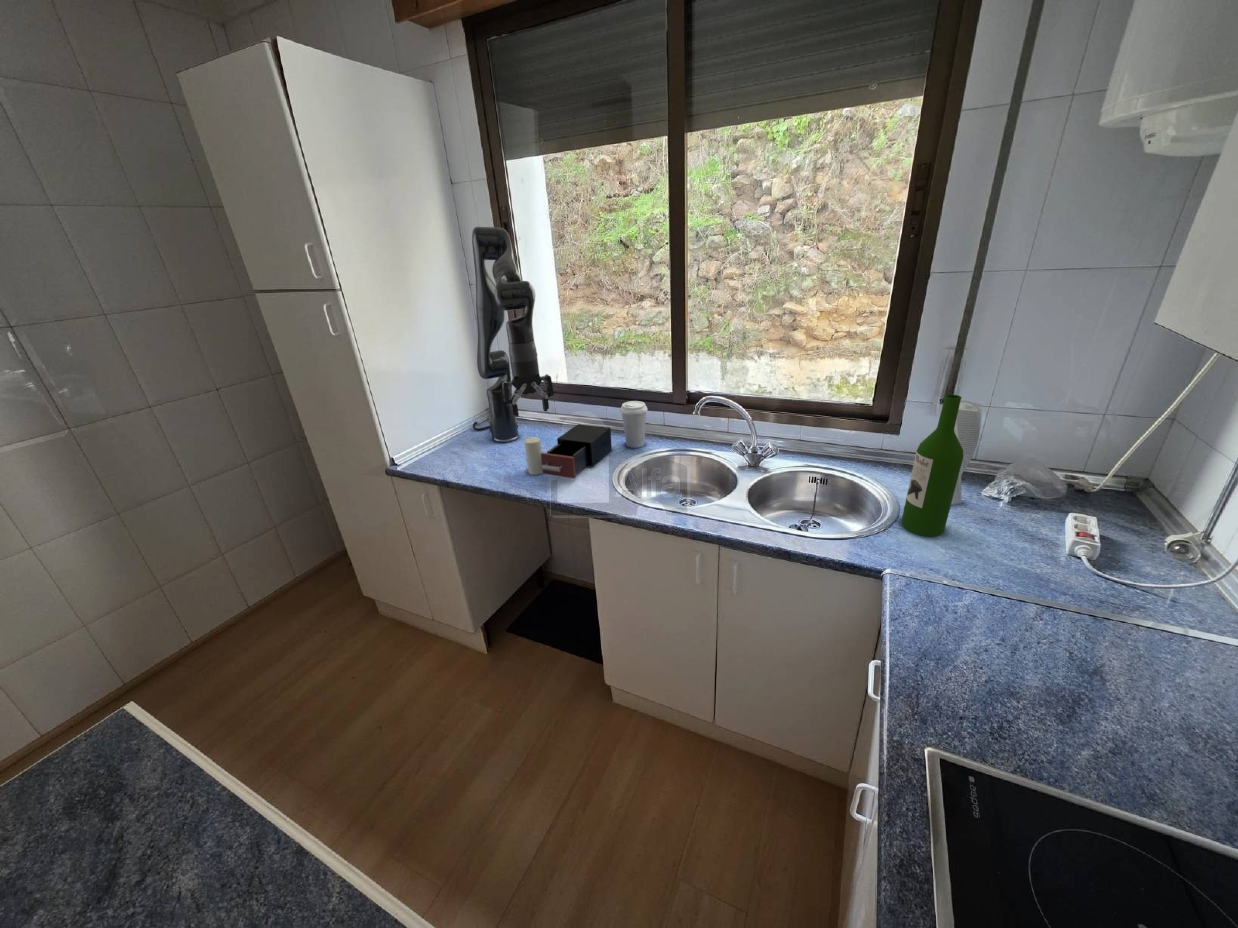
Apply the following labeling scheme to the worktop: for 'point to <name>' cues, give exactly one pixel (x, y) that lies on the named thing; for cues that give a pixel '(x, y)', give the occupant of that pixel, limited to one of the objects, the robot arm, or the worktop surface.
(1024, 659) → the worktop surface
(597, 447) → the black sliding tray box
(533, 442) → the container
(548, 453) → the drawer
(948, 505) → the wine bottle
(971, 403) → the light grey vase
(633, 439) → the coffee cup
